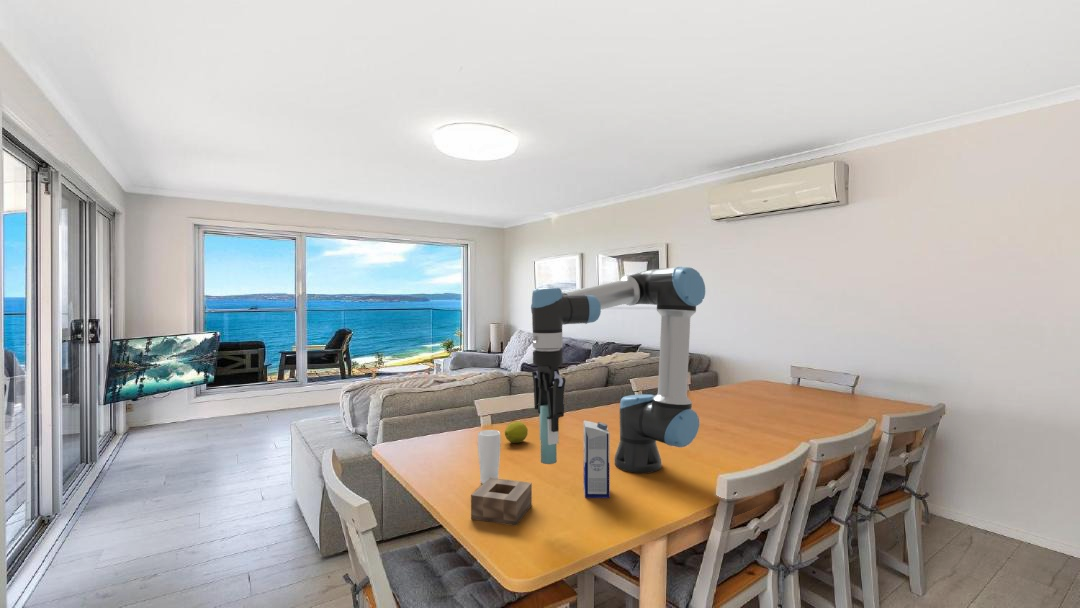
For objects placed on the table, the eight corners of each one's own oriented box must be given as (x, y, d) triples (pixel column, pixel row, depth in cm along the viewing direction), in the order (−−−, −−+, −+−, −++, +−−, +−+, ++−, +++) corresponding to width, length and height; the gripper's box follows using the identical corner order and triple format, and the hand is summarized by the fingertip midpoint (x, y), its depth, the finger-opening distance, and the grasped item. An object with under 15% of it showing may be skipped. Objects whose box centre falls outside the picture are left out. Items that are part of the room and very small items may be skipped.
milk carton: (583, 487, 138) (583, 419, 138) (606, 487, 138) (606, 419, 138) (585, 497, 131) (585, 425, 131) (609, 498, 131) (609, 426, 131)
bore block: (531, 505, 127) (531, 482, 127) (516, 525, 115) (516, 501, 115) (490, 499, 130) (490, 477, 130) (471, 518, 119) (471, 495, 119)
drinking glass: (491, 488, 138) (491, 437, 138) (473, 483, 141) (473, 433, 141) (505, 481, 144) (505, 431, 143) (487, 476, 147) (487, 428, 147)
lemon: (520, 437, 188) (520, 417, 188) (533, 442, 182) (533, 421, 182) (498, 443, 181) (498, 422, 181) (511, 448, 175) (511, 426, 175)
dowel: (558, 459, 122) (557, 405, 121) (554, 464, 118) (553, 408, 118) (543, 458, 123) (542, 404, 123) (538, 463, 119) (538, 407, 119)
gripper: (520, 347, 125) (521, 435, 126) (550, 353, 111) (552, 453, 111) (545, 345, 129) (546, 430, 129) (578, 351, 114) (579, 448, 115)
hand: (549, 441), depth 120 cm, fingers closed on dowel, 4 cm apart
